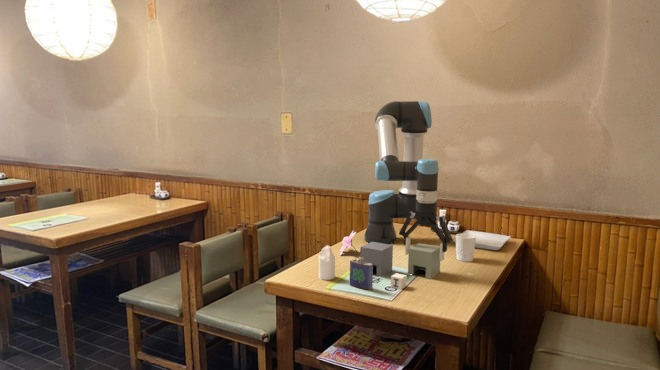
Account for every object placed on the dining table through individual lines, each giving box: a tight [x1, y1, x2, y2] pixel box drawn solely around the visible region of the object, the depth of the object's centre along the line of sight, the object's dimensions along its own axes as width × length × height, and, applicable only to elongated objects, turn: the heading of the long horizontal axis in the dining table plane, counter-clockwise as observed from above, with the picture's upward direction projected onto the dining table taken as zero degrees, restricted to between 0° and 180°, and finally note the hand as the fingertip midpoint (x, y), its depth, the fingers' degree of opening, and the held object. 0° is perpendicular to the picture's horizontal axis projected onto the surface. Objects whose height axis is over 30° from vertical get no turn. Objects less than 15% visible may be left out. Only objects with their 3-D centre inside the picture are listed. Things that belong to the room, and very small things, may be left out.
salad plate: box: [452, 229, 512, 251], centre depth 228 cm, size 21×21×3 cm
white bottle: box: [318, 244, 336, 281], centre depth 181 cm, size 6×12×6 cm
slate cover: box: [359, 242, 394, 278], centre depth 188 cm, size 9×9×10 cm
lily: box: [339, 231, 358, 256], centre depth 212 cm, size 12×12×10 cm
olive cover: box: [407, 243, 441, 280], centre depth 186 cm, size 9×9×10 cm
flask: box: [349, 256, 374, 291], centre depth 171 cm, size 9×3×11 cm, turn 51°
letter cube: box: [390, 272, 408, 290], centre depth 172 cm, size 4×4×4 cm
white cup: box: [455, 233, 476, 263], centre depth 203 cm, size 8×8×10 cm
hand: (424, 256), depth 186 cm, fingers open, 13 cm apart
